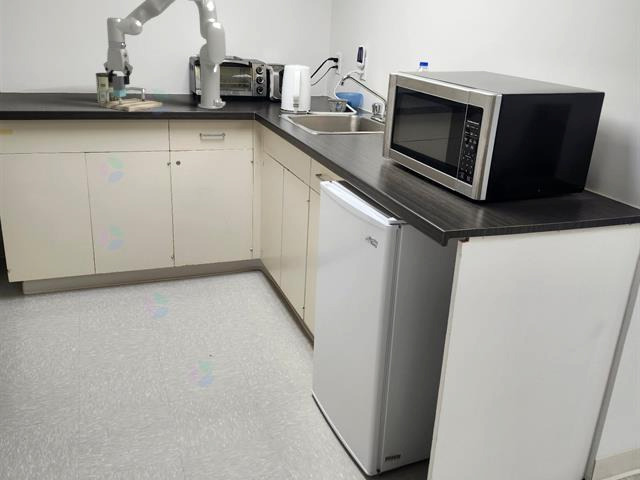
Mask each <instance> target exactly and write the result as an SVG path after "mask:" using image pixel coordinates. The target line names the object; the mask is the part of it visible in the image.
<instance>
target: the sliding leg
mask: <svg viewBox="0 0 640 480" xmlns="http://www.w3.org/2000/svg"><path fill="white" fill-rule="evenodd" d="M124 76H125V75H123V76H122V75H117V76H113V77H112V78H113V94H114V96H118V100H119V103H122V100H123V99H122V97H127V91H126V90H125V89H126V88H127V86H126V85H124V78H123V77H124Z"/></svg>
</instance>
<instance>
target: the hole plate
mask: <svg viewBox="0 0 640 480" xmlns="http://www.w3.org/2000/svg"><path fill="white" fill-rule="evenodd" d="M100 107H101V108H105V107H106V108H105V109H111V108H112V109H111V110H117V109H118V110H117V111H123V110H125V111H124V112H129V113H130V112H136V111H135V110H137V111H141V110H142V109H143V110H149V109H148V108H150V109H155V108H156V107H157V108H163V102H162V101H154V100H147V99H145V101H142V98H141V99H140V98H135V97H134V98H129V99H122V103H119V101H111V102H108V103H105V102H103V103H100Z"/></svg>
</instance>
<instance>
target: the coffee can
mask: <svg viewBox="0 0 640 480" xmlns="http://www.w3.org/2000/svg"><path fill="white" fill-rule="evenodd" d="M112 74H114V76H118V73H115V72H113V73H112ZM95 79H96V80H95V81H96V82H95V83H96V93H97V103H100V104H101V103H103V102H105V95H104V90H109V89H113V82H112V83H109V82H108V74H107V72H96V73H95ZM107 101H108V102H111V101H119V99H118V96H114V94H113V92H109V93H107Z"/></svg>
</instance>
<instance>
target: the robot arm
mask: <svg viewBox="0 0 640 480" xmlns="http://www.w3.org/2000/svg"><path fill="white" fill-rule="evenodd" d="M175 1H176V0H144V1H143V2H142V3H141V4H139V5H138V6H137V7H136V8H134V10H132V12H130V13H129V14H128V15H127V16H126V17H125V18H121V17H108V18H107V19H106V27H107V45H108V48H107V54H106V55H107V56H106V57H107V58H106V61H105V62H104V63H103V67H104V70H105V71H106V73H107V74H108V82H109V83H112V82H113V78H112V77H113V76H114V74H112V73H115V72H122V73H123V76H124V77H123V78H124V85H125V86H126V85H130V82H131V81H130V76H131V74H132V72H133V69H134V67H133V66H132V65H131V64H130V59H129V53H128V49H126V47H127V44H126V35H130V36H138V35H140V34H141V33H142V32H143V26H144V24H145V25H146V23H147V22H148V21H150V20H151V19H153V18H155V17H156V18H157V17H158V16H159V15H161V14H163V13H164V12H165V11H166V9H168V8H169V7H170V6H171V5H173V4H174V3H175ZM189 1H192V2H193V3H195V4H196V6H197V9H198V16H199V33H200V35H201V37H202V38H203V39H204V40H205V41H206V43H204V44H203V45H201V46H200V48H199V53H198V54H199V62H200V103H198V104H197V108H200V109H207V110H208V109H212V110H215V109H216V110H218V109H222V108H223V107H224V106H226V101H222V98H221V96H220V95H221V91H220V90H221V88H220V87H221V86H220V85H221V79H220V78H221V69H220V68H221V67H220V65H221V64H222V63H223V62H225V60H226V56H227V55H226V53H227V50H226V49H227V48H226V45H227V44H226V32H225V29H224V26H223V24H222V23H220V22H219V21H218V15H217V7H216V3H215V0H189Z"/></svg>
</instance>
